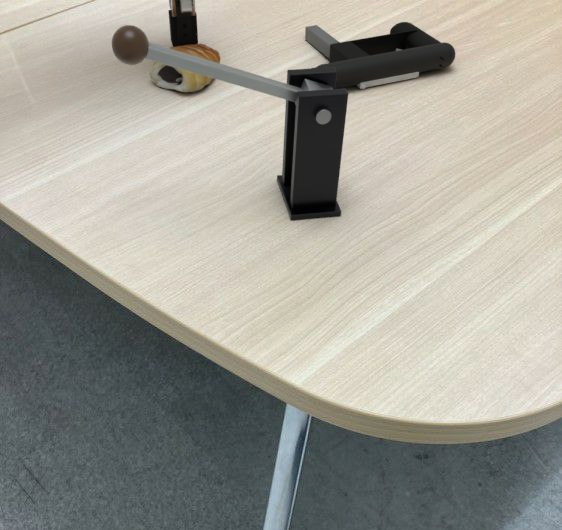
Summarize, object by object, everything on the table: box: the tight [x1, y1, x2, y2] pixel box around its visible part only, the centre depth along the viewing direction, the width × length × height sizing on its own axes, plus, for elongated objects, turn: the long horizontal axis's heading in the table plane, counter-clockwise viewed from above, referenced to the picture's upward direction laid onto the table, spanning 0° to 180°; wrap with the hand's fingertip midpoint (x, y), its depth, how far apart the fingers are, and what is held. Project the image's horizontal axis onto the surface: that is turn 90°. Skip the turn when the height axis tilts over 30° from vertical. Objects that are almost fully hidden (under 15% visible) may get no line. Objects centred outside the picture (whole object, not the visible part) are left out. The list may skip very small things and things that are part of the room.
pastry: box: [149, 43, 221, 93], centre depth 94 cm, size 9×7×4 cm
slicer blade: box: [111, 24, 333, 104], centre depth 67 cm, size 20×3×3 cm, turn 102°
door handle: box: [304, 21, 456, 90], centre depth 100 cm, size 3×20×16 cm
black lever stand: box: [276, 67, 349, 221], centre depth 74 cm, size 5×7×13 cm
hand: (184, 44), depth 98 cm, fingers closed
